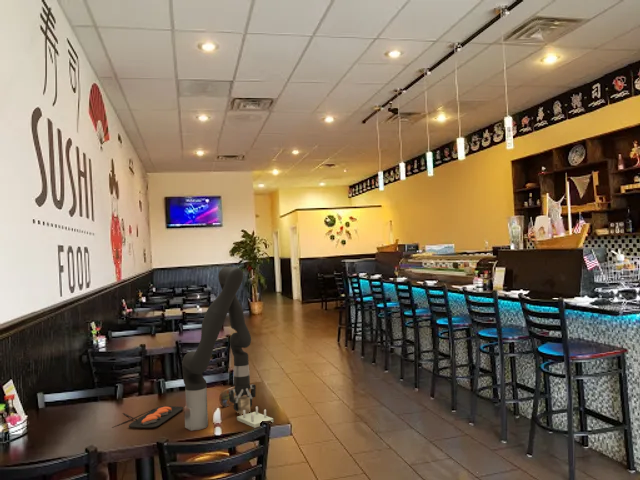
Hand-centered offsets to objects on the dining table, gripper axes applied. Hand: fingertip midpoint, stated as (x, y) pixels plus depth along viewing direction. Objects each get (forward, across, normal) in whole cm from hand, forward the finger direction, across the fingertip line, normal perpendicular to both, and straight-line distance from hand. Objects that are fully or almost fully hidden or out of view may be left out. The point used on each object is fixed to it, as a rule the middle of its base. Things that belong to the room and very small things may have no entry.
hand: (243, 408), depth 241 cm
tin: (+2, +3, +16) cm, 16 cm away
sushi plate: (+3, -38, +29) cm, 48 cm away
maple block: (+2, 0, 0) cm, 2 cm away
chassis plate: (+2, -3, -15) cm, 15 cm away
